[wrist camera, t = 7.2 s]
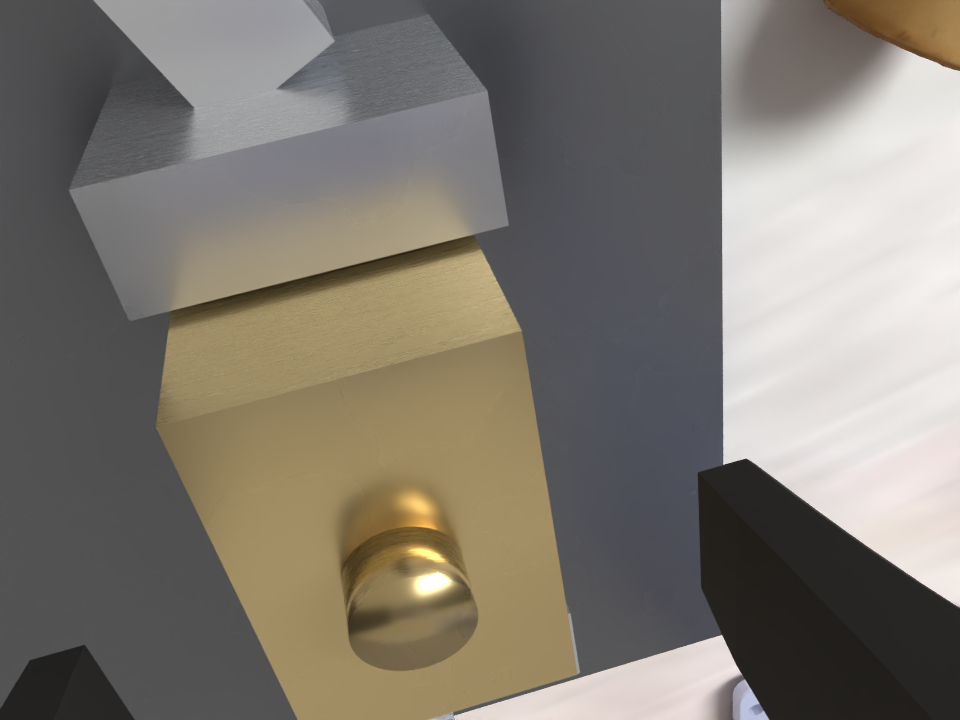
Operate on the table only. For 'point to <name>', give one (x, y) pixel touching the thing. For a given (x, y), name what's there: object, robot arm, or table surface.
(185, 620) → the shaft base
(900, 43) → the kendama
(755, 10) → the table surface
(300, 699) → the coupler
